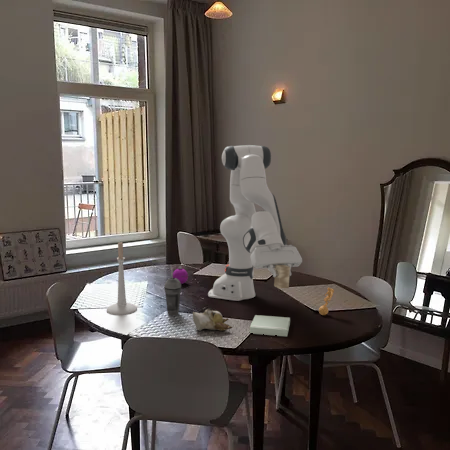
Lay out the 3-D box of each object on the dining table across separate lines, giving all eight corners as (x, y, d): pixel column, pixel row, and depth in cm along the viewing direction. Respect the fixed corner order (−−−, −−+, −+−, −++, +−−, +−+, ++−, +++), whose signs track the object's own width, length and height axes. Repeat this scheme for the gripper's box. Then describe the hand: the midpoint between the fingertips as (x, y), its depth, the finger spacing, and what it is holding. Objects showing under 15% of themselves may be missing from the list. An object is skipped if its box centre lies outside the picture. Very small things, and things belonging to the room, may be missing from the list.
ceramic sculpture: (191, 303, 189) (229, 304, 192) (190, 324, 191) (227, 325, 193) (194, 312, 179) (234, 313, 182) (192, 335, 180) (232, 335, 183)
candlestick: (118, 317, 200) (116, 245, 195) (100, 310, 208) (98, 241, 204) (143, 309, 209) (142, 241, 205) (125, 303, 217) (123, 237, 213)
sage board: (249, 333, 182) (249, 326, 182) (255, 321, 196) (255, 314, 196) (287, 336, 180) (287, 329, 179) (289, 323, 193) (290, 317, 193)
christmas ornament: (183, 286, 245) (183, 267, 244) (169, 285, 248) (169, 266, 247) (190, 282, 253) (190, 264, 252) (176, 281, 256) (176, 262, 254)
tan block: (279, 288, 180) (280, 267, 179) (274, 286, 183) (275, 265, 182) (288, 288, 181) (289, 267, 180) (283, 285, 185) (284, 264, 184)
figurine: (316, 311, 208) (317, 284, 206) (330, 311, 208) (331, 284, 206) (320, 318, 200) (321, 290, 198) (335, 318, 200) (336, 290, 198)
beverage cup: (168, 317, 199) (167, 270, 196) (161, 312, 205) (161, 266, 202) (184, 315, 202) (184, 268, 199) (177, 310, 209) (177, 264, 206)
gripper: (291, 249, 195) (303, 278, 187) (245, 251, 187) (255, 281, 180) (298, 240, 190) (310, 270, 183) (251, 241, 183) (261, 272, 175)
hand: (282, 276), depth 181 cm, fingers closed on tan block, 4 cm apart
